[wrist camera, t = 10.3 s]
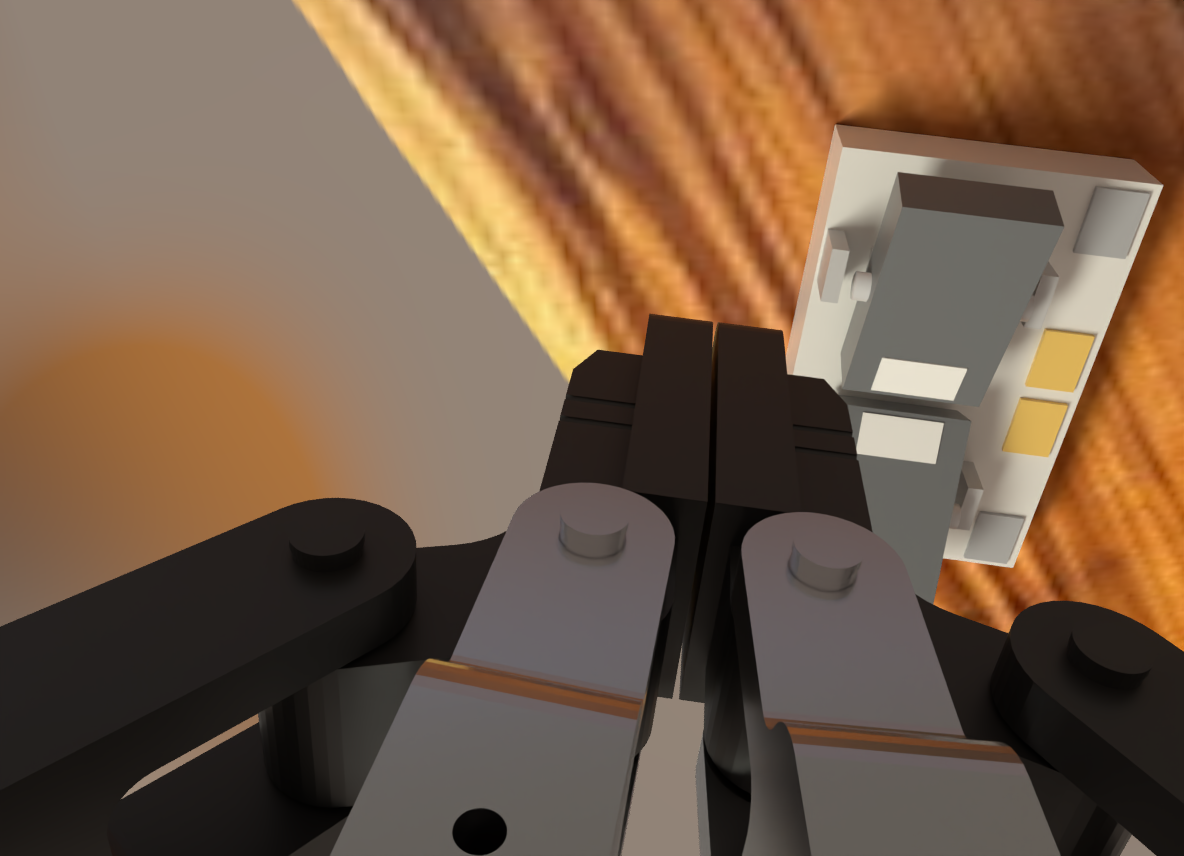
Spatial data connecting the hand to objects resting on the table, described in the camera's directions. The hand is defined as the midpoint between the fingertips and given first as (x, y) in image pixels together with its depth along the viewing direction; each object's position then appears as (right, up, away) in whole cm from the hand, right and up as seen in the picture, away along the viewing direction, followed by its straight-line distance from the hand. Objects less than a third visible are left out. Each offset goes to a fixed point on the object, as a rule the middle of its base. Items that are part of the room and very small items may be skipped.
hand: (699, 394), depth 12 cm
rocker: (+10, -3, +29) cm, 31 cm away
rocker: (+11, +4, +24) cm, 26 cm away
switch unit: (+13, +3, +31) cm, 33 cm away
